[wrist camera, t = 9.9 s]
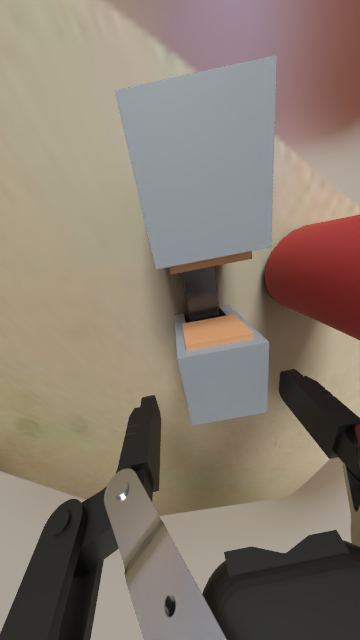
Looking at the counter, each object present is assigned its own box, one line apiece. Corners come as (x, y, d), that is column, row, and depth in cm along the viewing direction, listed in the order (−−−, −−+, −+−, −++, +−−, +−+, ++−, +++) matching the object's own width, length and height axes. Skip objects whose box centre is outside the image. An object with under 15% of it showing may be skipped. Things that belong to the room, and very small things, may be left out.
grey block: (184, 363, 18) (192, 425, 11) (173, 311, 16) (175, 352, 9) (232, 354, 18) (267, 412, 11) (228, 301, 16) (269, 335, 9)
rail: (197, 362, 18) (200, 375, 16) (165, 180, 12) (164, 167, 10) (219, 358, 18) (224, 370, 16) (198, 173, 12) (204, 159, 10)
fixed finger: (163, 266, 14) (157, 278, 8) (145, 179, 12) (114, 90, 5) (224, 254, 14) (270, 256, 8) (217, 164, 12) (276, 55, 5)
